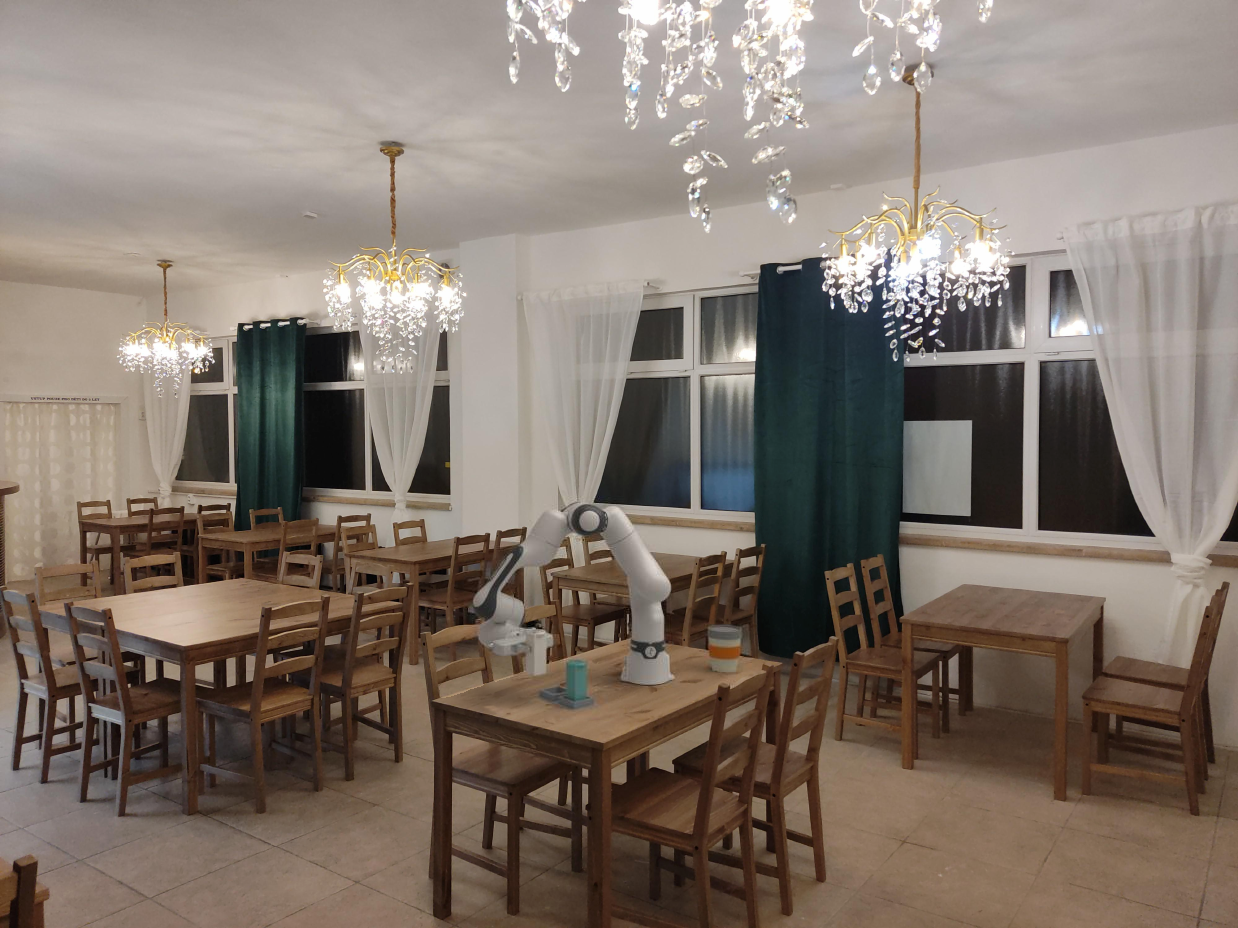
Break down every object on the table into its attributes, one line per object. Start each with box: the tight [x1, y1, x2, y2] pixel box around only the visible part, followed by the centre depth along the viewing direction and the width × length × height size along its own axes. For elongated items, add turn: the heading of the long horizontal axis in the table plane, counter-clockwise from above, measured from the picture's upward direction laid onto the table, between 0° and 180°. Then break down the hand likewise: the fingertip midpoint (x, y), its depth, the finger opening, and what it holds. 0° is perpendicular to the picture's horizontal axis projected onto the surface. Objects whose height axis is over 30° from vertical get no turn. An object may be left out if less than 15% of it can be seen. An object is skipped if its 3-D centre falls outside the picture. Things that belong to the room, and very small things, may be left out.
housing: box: [534, 685, 600, 712], centre depth 274 cm, size 20×10×4 cm, turn 41°
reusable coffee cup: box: [707, 624, 743, 674], centre depth 319 cm, size 13×13×15 cm
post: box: [525, 628, 547, 677], centre depth 272 cm, size 6×6×13 cm
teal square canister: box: [565, 658, 588, 702], centre depth 270 cm, size 6×6×13 cm
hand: (537, 648), depth 271 cm, fingers closed on post, 4 cm apart
